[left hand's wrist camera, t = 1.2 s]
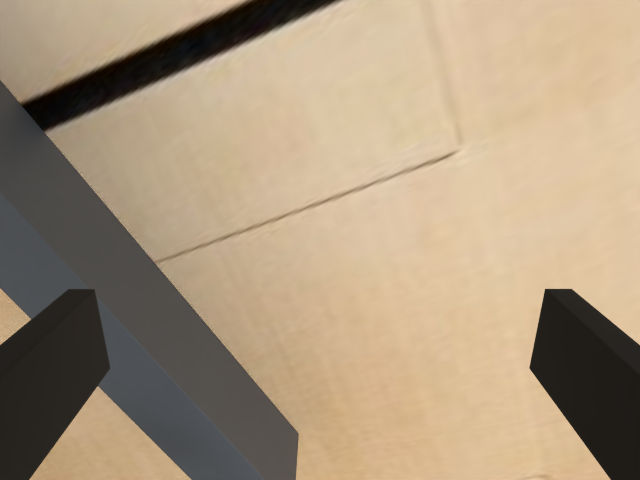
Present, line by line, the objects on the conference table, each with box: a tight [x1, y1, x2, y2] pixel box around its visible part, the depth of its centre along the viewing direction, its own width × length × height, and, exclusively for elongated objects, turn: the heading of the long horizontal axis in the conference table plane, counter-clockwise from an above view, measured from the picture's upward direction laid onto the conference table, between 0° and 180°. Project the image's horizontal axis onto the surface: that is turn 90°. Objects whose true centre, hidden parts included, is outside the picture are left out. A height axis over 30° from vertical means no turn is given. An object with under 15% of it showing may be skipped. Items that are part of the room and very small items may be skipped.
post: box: [0, 81, 298, 480], centre depth 33 cm, size 50×5×8 cm, turn 33°
